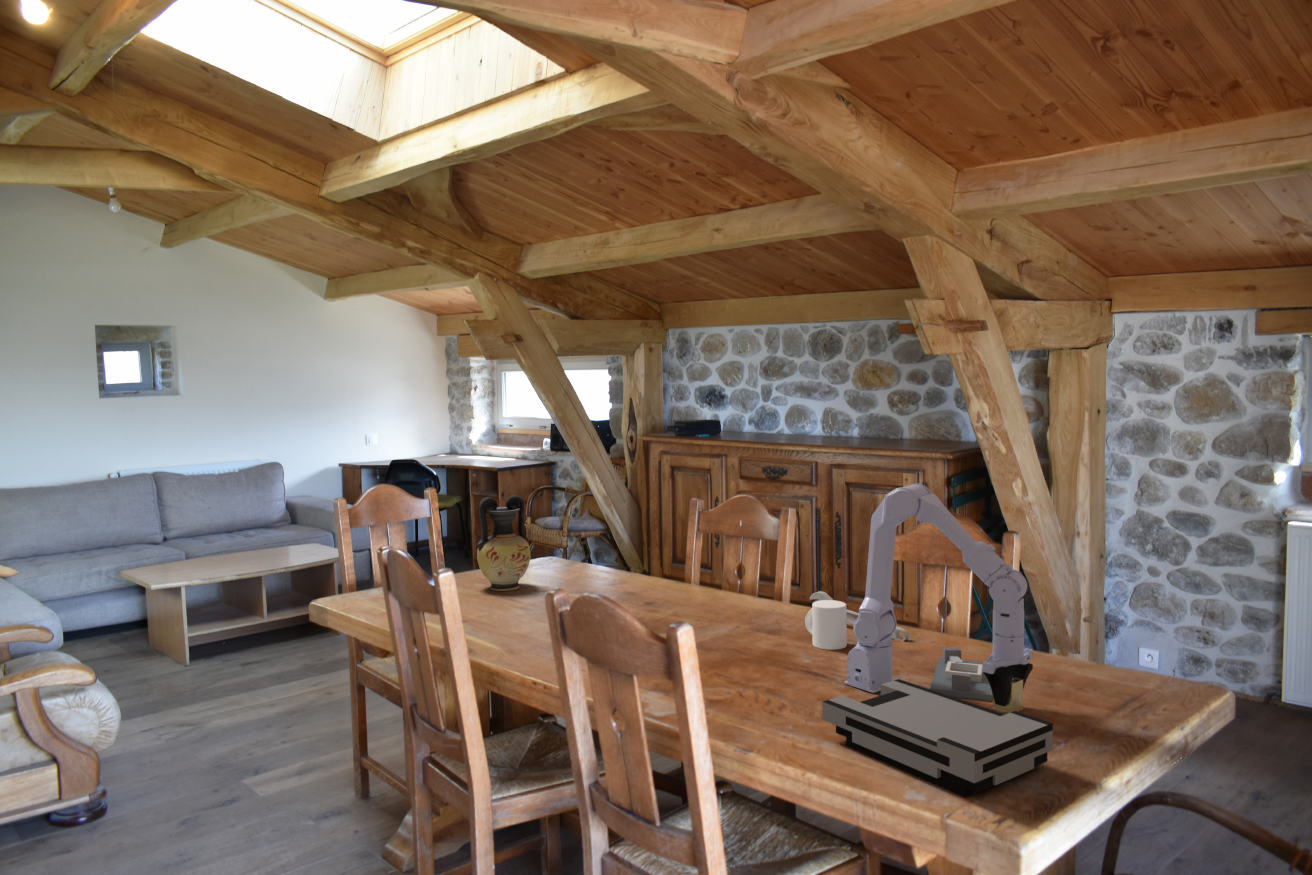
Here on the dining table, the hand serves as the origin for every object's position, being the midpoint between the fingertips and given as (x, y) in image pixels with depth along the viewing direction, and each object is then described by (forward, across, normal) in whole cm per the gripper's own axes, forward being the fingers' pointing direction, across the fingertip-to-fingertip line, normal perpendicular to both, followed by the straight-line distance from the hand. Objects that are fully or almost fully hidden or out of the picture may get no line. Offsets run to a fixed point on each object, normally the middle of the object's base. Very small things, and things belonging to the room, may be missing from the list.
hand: (1007, 701), depth 172 cm
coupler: (+2, 0, 0) cm, 2 cm away
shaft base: (+1, +8, +15) cm, 17 cm away
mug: (+2, +6, +53) cm, 53 cm away
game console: (+2, -29, -3) cm, 29 cm away
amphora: (+2, -26, +161) cm, 163 cm away
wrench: (+2, +22, +56) cm, 60 cm away
